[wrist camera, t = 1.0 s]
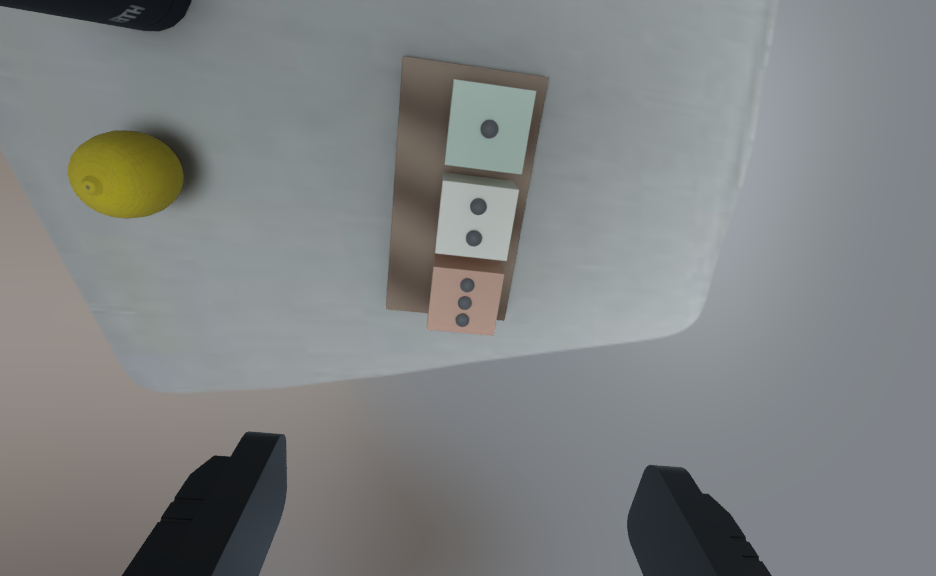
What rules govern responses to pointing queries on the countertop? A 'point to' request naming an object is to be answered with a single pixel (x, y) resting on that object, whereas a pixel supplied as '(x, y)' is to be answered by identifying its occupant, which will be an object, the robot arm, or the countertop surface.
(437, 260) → the key three
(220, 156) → the countertop surface
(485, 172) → the board
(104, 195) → the lemon
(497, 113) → the key one
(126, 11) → the wine bottle
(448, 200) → the key two
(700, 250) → the countertop surface
